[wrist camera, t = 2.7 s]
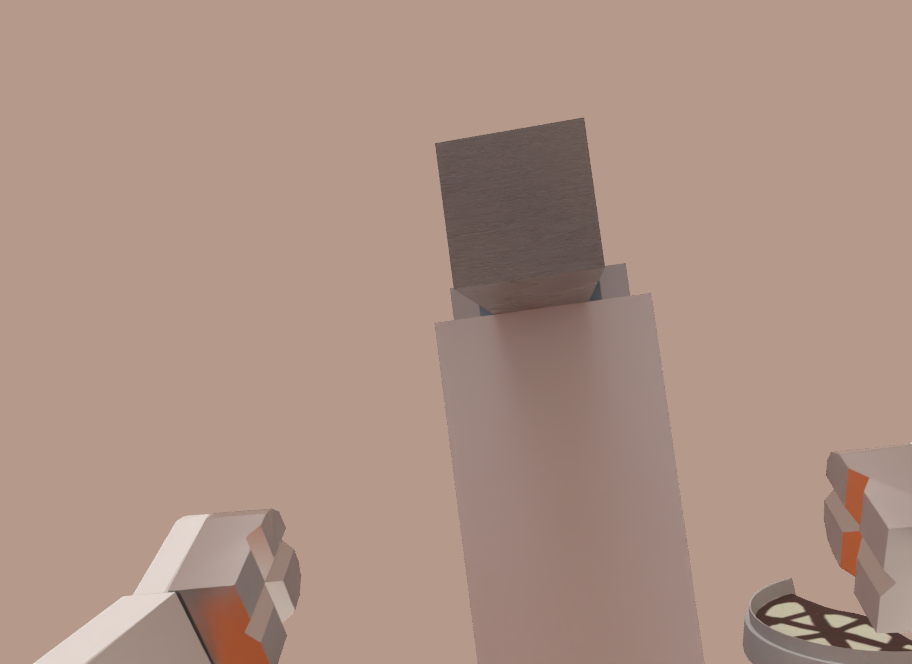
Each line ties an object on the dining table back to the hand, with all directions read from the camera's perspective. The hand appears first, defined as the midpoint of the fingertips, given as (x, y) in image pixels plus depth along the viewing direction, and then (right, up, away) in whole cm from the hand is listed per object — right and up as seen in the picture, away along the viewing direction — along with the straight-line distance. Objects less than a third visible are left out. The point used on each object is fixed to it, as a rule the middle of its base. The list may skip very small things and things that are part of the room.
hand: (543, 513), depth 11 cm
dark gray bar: (+2, +3, +18) cm, 18 cm away
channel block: (+6, -22, +22) cm, 32 cm away
